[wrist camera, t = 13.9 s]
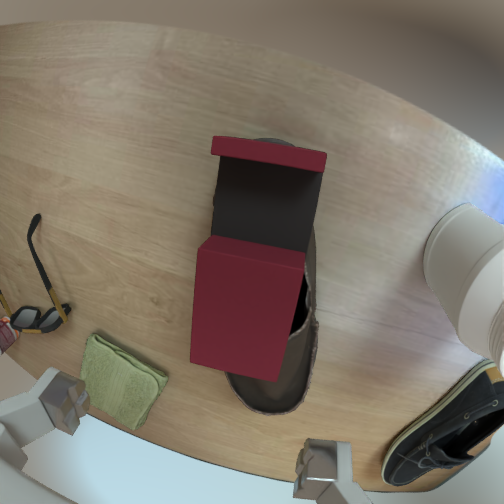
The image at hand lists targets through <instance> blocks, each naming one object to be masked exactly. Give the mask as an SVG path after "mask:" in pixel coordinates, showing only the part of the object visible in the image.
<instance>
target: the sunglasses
mask: <svg viewBox="0 0 504 504" xmlns="http://www.w3.org/2000/svg"><path fill="white" fill-rule="evenodd" d="M40 219H41V215H40V214H36V215H35V216H34V217H33V219H32V221H31V224H30V227H29V230H28V234H27V241H28V244H29V247H30V250H31V253H32V256H33V258H34V261H35V263H36V266H37V268H38V271H39V273H40V275H41V278H42V280H43V282H44V285H45V287H46V289H47V291H48V293H49V295H50V298H51V300H52V302H53V304H54V306H55V307H53V308H51V309H49V310H48V311H47V312H46V313H45V314H44V315H43V316H42V317H41V318H40V316H41V312H40V311H39V310H38V309H37V308H34V307H28V306H24V307H21V308H19V309H18V310H17V311H16V313H15V314H12V312H11V310H10V308H9V307H8V304H7V302H6V300H5V298H4V296H3V294H2V292H1V290H0V302H1V304H2V306H3V308H4V309H5V311H6V313H7V315H8V316H9V318H10V322H9V323H10V326H11V328H12V329H15V330H17V331H20V332H23V333H37V334H43V333H48V332H51V331H54V330H55V329H57V328H58V327H59V326H60V325H61V323H62V324H66V322H67V320H68V318H67V315H68V314H69V312H70V311H71V308H70V307H69V305H68V304H63V305H61V304H60V302H59V300H58V298H57V296H56V294H55V292H54V290H53V287H52V286H51V283H50V281H49V279H48V277H47V275H46V272H45V270H44V268H43V265H42V263H41V262H40V260H39V258H38V256H37V254H36V252H35V249H34V247H33V244H32V240H31V237H32V234H33V232H34V230H35V229H36V227H37V225H38V223H39V221H40Z"/></svg>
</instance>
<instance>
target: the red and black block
mask: <svg viewBox="0 0 504 504" xmlns="http://www.w3.org/2000/svg"><path fill="white" fill-rule="evenodd" d="M211 154H212V155H218V156H220V163H219V171H218V179H217V186H216V195H215V203H214V211H213V220H212V229H211V236H210V237H209V238H208V239H207V240H206V241H205V242H204V243H203V244H202V245H201V246H200V247H199V248H198V253H197V264H196V276H195V289H194V302H193V316H192V332H191V349H190V362H191V363H195V364H198V365H202V366H206V367H210V368H214V369H218V370H222V371H226V372H230V373H234V374H239V375H243V376H248V377H252V378H257V379H261V380H266V381H271V382H277V380H278V376H279V373H280V369H281V365H282V361H283V357H284V354H285V350H286V346H287V342H288V338H289V334H290V330H291V326H292V322H293V318H294V313H295V309H296V305H297V301H298V297H299V292H300V288H301V284H302V279H303V275H304V269H305V261H306V256H307V251H308V247H309V242H310V237H311V232H312V227H313V222H314V218H315V213H316V207H317V202H318V197H319V192H320V187H321V181H322V176H323V172H324V169H325V164H326V158H327V154H326V153H325V152H321V151H316V150H311V149H306V148H300V147H294V146H289V145H283V144H277V143H271V142H264V141H258V140H251V139H244V138H236V137H228V136H213V140H212V147H211Z"/></svg>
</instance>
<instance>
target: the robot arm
mask: <svg viewBox="0 0 504 504" xmlns="http://www.w3.org/2000/svg"><path fill="white" fill-rule="evenodd" d="M85 388H86V384H85V382H84V381H83V380H81V379H78V378H76V377H74V376H71V375H69V374H67V373H65V372H63V371H61V370H58V369H56V368H54V367H50V368H48V369H47V370H46V371H45V372H44V374H43V375H42V376H41V377H40V378H39V380H38V381H37V382H36V383H35V385H34V386H33V387H32V388H31V390H30V391H29V392H28V393H27V392H23V393H21V394H18V395H16V396H13V397H10V398H8V399H5V400H2V401H0V504H78V503H76V502H74V501H72V500H70V499H68V498H66V497H64V496H62V495H60V494H59V493H57V492H55V491H53V490H52V489H50V488H48V487H46V486H45V485H43V484H41V483H39V482H38V481H36V480H35V479H33V478H31V477H30V476H28V475H27V474H25V473H24V472H22V471H21V470H22V468H23V467H24V465H25V464H26V462H27V460H28V458H27V455H26V454H25V453H24V452H23V450H22V449H21V448H22V447H23V446H25V445H27V444H29V443H31V442H33V441H34V440H36V439H38V438H40V437H42V436H43V435H45V434H47V433H48V432H50V431H52V430H54V429H55V428H57V429H59V430H62V431H63V432H66V433H68V434H70V435H73V434H74V432H75V431H76V429H77V428H78V426H79V424H80V420H79V418H80V417H83V416H85V415H86V413H87V411H88V409H89V406H90V396H89V394H88V393H87V391H86V390H85ZM295 472H296V474H297V475H298V477H297V479H296V480H295V482H294V492H293V498H300V499H310V500H316V502H317V504H373V503H372V502H371V500H370V499H369V498H368V497H367V495H366V494H365V492H364V491H363V490H362V489H361V487H360V486H359V485H358V483H357V482H353V473H352V451H351V444H350V442H343V441H333V440H320V439H310V438H308V439H306V441H305V443H304V448H303V449H301V450H300V452H299V455H298V458H297V462H296V470H295Z"/></svg>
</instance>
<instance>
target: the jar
mask: <svg viewBox="0 0 504 504" xmlns="http://www.w3.org/2000/svg"><path fill="white" fill-rule="evenodd" d="M423 270H424V275H425V279H426V282H427V284H428V285H429V287H430V289H432V290H433V292H434V294H435V295H436V297H437V299H438V300H439V302H440V304H441V305H442V307H443V309H444V310H445V312H446V314H447V316H448V317H449V319H450V321H451V323H452V324H453V326H454V328H455V330H456V334H457V336H458V338H459V340H460V341H461V342H462V343H463V344H464V345H465V346H466V347H468V348H469V349H470V350H471V351H473V352H475V353H477V354H479V355H481V356H483V357H485V358H487V359H490V360H492V361H494V363H495V365H496V366H497V369H498V370H499V372H500V374H501V375H502V377H503V378H504V224H500V223H498V222H497V221H495V220H494V219H492V218H491V217H490V216H488V215H487V214H485V213H484V212H482V210H480V209H479V208H477V207H476V206H474V205H473V204H471V203H467V204H463V205H461V206H458V207H456V208H455V209H453V210H451V211H450V212H449V213H447V214H446V215H445V216H444V217H443V218H442V219H441V220H440V221H439V222H438V224H437V225H436V226H435V228H434V229H433V231H432V233H431V235H430V237H429V239H428V241H427V244H426V247H425V251H424V258H423Z"/></svg>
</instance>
